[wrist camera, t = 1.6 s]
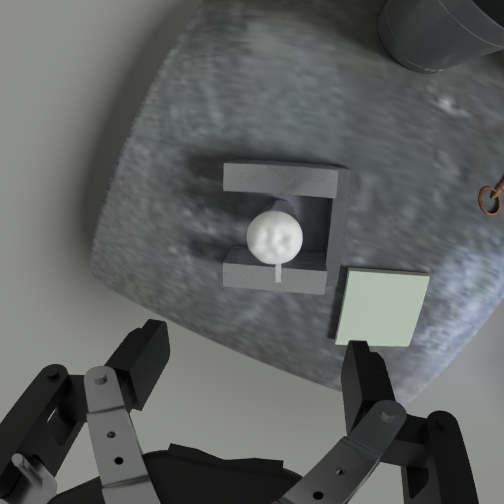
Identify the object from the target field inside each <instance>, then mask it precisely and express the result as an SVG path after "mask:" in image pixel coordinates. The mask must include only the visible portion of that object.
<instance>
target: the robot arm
mask: <svg viewBox="0 0 504 504" xmlns="http://www.w3.org/2000/svg"><path fill="white" fill-rule="evenodd" d="M378 32H379V36H380V39H381V41H382V43H383V45H384V47H385V48H386V50H387V51H388V52H389V54H390V55H391V56H392V57H393V58H394V59H395V60H396V61H398V62H399V63H400V64H402V65H403V66H405V67H407V68H408V69H410V70H413V71H416V72H419V73H426V74H429V73H436V72H439V71H443V70H444V69H447V68H450V67H453V66H456V65H458V64H461V63H464V62H467V61H470V60H472V59H475V58H478V57H481V56H484V55H487V54H490V53H493V52H496V51H500V50H503V49H504V0H389V1H388V2H387V3H386V5H385V6H384V8H383V9H382V11H381V13H380V14H379V18H378ZM169 356H170V344H169V337H168V330H167V324H166V322H165V321H159V320H153V319H149V320H148V321H147V322H146V323H145V325H144V326H143V327H142V328H137V329H135V330H133V331H132V332H130V333H129V334H128V335H127V336H126V338H125V339H124V341H123V342H122V343H121V344H120V345H119V347H118V348H117V350H116V351H115V352H114V353H113V355H112V356H111V357H110V358H109V360H108V361H107V363H106V364H105V365H104V366H97V367H94V368H92V369H90V370H88V371H87V372H86V374H85V375H69V374H68V371H67V369H66V368H65V367H64V366H63V365H59V364H52V365H49V366H47V367H45V368H43V369H42V370H41V372H40V373H39V374H38V375H37V376H36V378H35V379H34V380H33V381H32V383H31V384H30V385H29V387H28V388H27V389H26V390H25V392H24V393H23V394H22V396H21V397H20V398H19V399H18V401H17V402H16V403H15V405H14V406H13V407H12V409H11V410H10V411H9V412H8V414H7V415H6V417H5V418H4V419H3V421H2V422H1V424H0V504H348V503H349V502H350V501H351V500H352V498H353V497H354V496H355V494H356V493H357V492H358V491H359V489H360V488H361V487H362V486H363V484H364V483H365V482H366V480H367V479H368V478H369V477H370V475H371V474H372V472H373V471H374V470H375V469H376V467H377V466H378V465H379V463H380V462H384V463H388V464H393V465H398V466H401V475H402V485H403V496H404V504H479V502H478V497H477V492H476V488H475V483H474V480H473V475H472V471H471V467H470V463H469V459H468V455H467V452H466V448H465V445H464V441H463V438H462V434H461V431H460V428H459V425H458V422H457V420H456V418H455V417H454V416H453V415H452V414H450V413H448V412H445V411H435V412H432V413H431V414H430V415H429V416H428V417H427V418H422V417H416V416H412V415H409V414H407V413H406V410H405V409H404V407H403V406H402V405H401V404H399V403H397V402H396V400H395V397H394V393H393V389H392V386H391V382H390V379H389V377H388V372H387V370H386V365H385V362H384V360H383V358H382V357H381V356H380V355H379V354H378V353H377V352H370V350H369V346H368V343H367V341H363V340H349V342H348V346H347V350H346V354H345V358H344V362H343V366H342V371H341V383H342V392H343V401H344V409H345V410H344V411H345V420H346V431H347V437H346V436H344V437H343V438H342V439H340V441H339V442H338V443H337V444H336V445H335V446H334V447H333V448H332V449H331V450H330V451H329V452H328V453H327V454H326V455H325V456H324V458H323V459H322V460H321V461H320V462H319V463H318V464H317V465H316V466H315V467H314V468H312V469H311V470H310V472H308V473H307V474H306V475H305V476H304V477H302V476H301V475H299V474H297V473H295V472H293V471H290V470H288V469H285V468H283V461H282V460H270V459H260V458H248V459H233V460H223V459H220V458H217V457H215V456H213V455H210V454H208V453H205V452H203V451H201V450H198V449H195V448H190V447H185V446H181V445H176V444H172V443H171V444H170V446H169V448H168V450H159V451H153V452H149V453H145V454H144V453H143V451H142V448H141V446H140V443H139V440H138V437H137V435H136V432H135V429H134V426H133V423H132V420H131V417H130V414H129V413H130V411H131V410H132V409H136V410H140V411H142V409H143V407H144V405H145V403H146V401H147V399H148V397H149V396H150V394H151V392H152V390H153V388H154V386H155V384H156V383H157V381H158V379H159V377H160V375H161V373H162V371H163V369H164V368H165V366H166V364H167V362H168V360H169ZM54 409H55V412H54V413H53V415H52V417H51V418H50V420H49V421H48V418H49V417H50V415H51V414H52V412H53V411H54ZM47 421H48V423H47ZM85 422H88V427H89V432H90V437H91V442H92V446H93V451H94V455H95V459H96V463H97V467H98V471H99V475H100V476H98V477H96V478H94V479H92V480H90V481H87V482H85V483H83V484H81V485H78V486H76V487H74V488H72V489H69V490H67V491H64V492H62V493H60V494H58V495H57V493H56V491H57V482H56V480H55V476H56V474H57V472H58V470H59V468H60V467H61V465H62V463H63V461H64V459H65V457H66V455H67V453H68V451H69V450H70V448H71V446H72V444H73V442H74V441H75V439H76V437H77V435H78V433H79V432H80V430H81V428H82V426H83V424H84V423H85Z"/></svg>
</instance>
